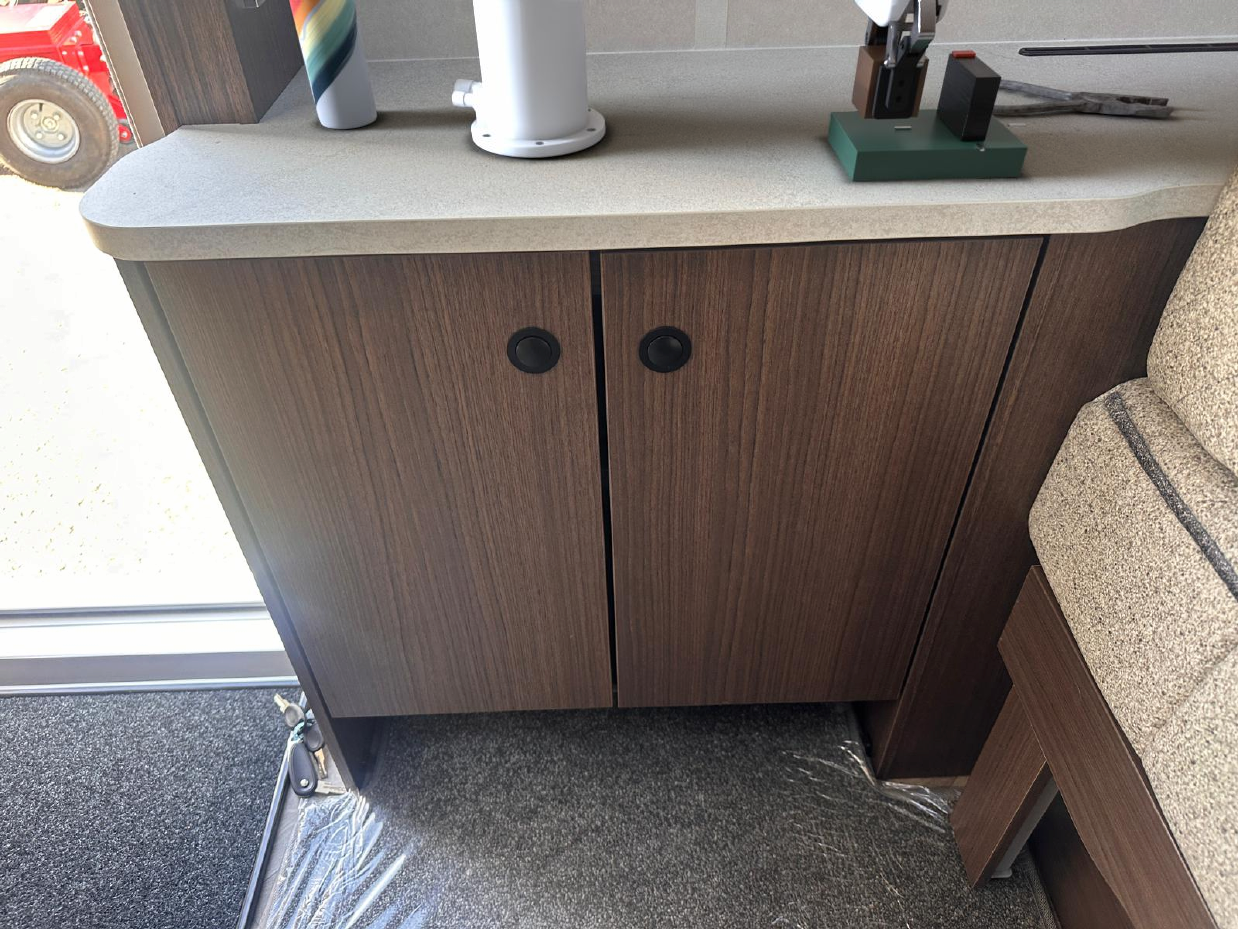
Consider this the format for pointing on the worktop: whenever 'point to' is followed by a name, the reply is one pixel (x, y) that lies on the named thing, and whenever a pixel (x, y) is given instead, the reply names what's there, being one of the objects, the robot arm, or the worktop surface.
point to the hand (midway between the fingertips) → (883, 104)
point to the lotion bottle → (335, 62)
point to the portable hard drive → (968, 96)
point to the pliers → (1084, 102)
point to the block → (868, 76)
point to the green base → (921, 148)
